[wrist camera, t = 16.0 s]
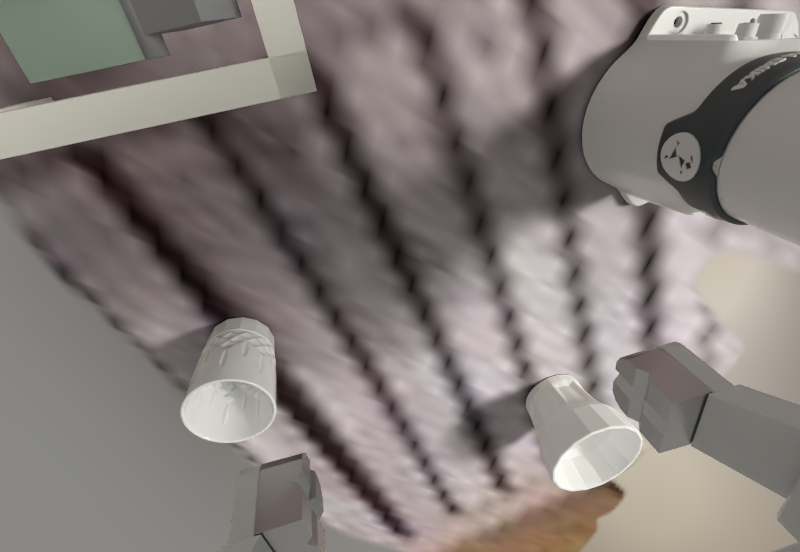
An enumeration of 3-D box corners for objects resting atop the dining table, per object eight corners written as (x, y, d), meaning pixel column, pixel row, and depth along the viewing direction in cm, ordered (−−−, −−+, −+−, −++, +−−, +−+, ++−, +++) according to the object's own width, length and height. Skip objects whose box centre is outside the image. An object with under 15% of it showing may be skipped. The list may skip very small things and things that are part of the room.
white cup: (188, 327, 42) (161, 399, 34) (261, 301, 43) (252, 367, 34) (225, 378, 47) (209, 453, 38) (291, 354, 47) (290, 424, 38)
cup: (541, 434, 65) (582, 501, 56) (496, 405, 59) (533, 474, 50) (604, 386, 62) (658, 447, 53) (563, 349, 56) (616, 412, 47)
